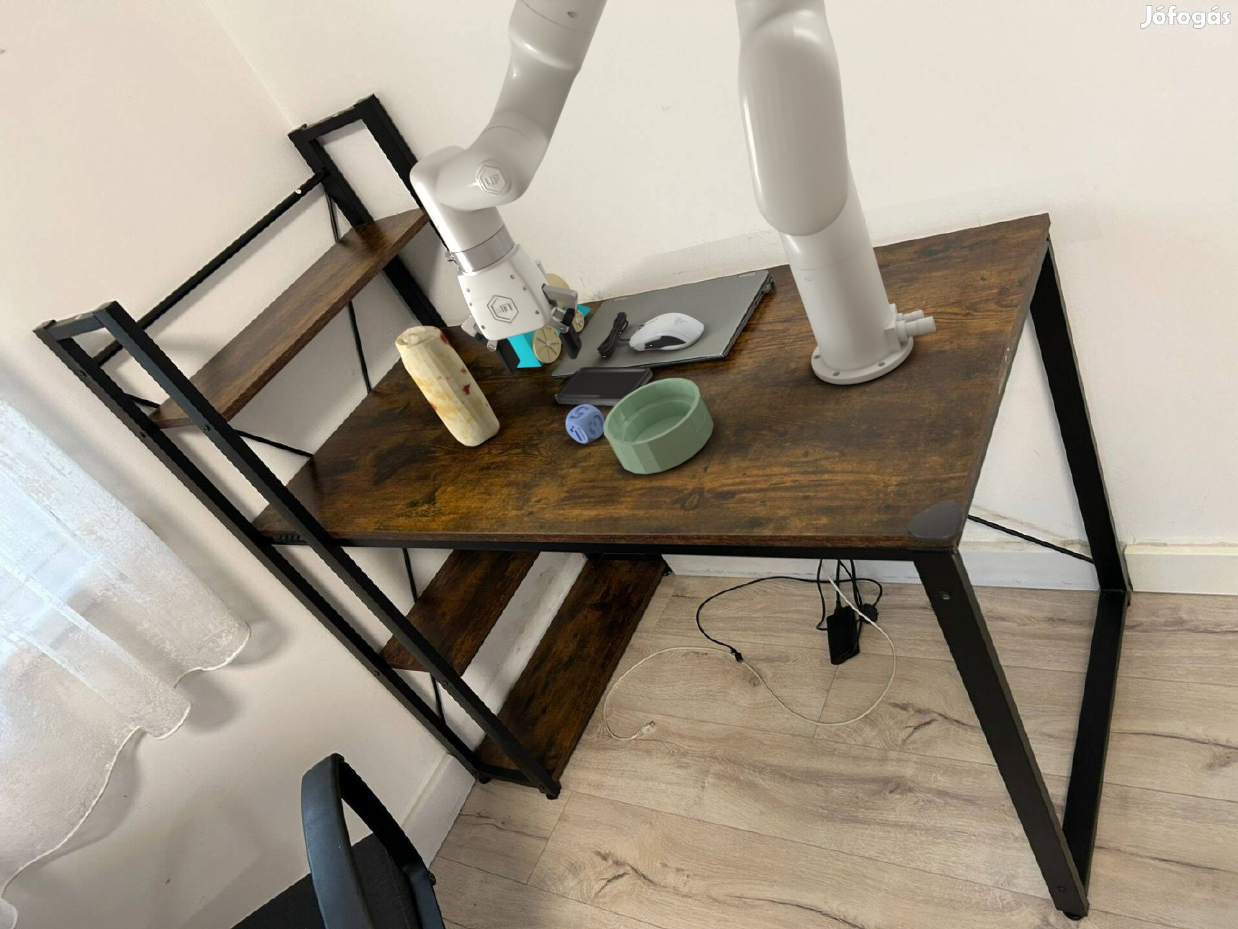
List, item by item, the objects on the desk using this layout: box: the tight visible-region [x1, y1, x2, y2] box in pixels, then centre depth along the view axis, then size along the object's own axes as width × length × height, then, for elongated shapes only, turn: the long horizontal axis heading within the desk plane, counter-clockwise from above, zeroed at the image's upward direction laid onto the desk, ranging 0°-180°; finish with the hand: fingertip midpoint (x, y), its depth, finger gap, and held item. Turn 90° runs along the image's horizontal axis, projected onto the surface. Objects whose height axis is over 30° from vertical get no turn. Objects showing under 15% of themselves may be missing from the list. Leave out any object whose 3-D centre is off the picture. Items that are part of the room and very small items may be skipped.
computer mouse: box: [596, 311, 705, 359], centre depth 136 cm, size 10×18×4 cm, turn 61°
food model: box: [395, 325, 500, 447], centre depth 132 cm, size 10×7×20 cm
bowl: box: [603, 377, 714, 475], centre depth 112 cm, size 13×13×6 cm
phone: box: [554, 366, 654, 407], centre depth 131 cm, size 8×1×15 cm
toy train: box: [507, 259, 592, 368], centre depth 148 cm, size 8×17×15 cm, turn 148°
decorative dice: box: [565, 404, 606, 444], centre depth 122 cm, size 4×4×4 cm
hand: (545, 360), depth 117 cm, fingers open, 9 cm apart
